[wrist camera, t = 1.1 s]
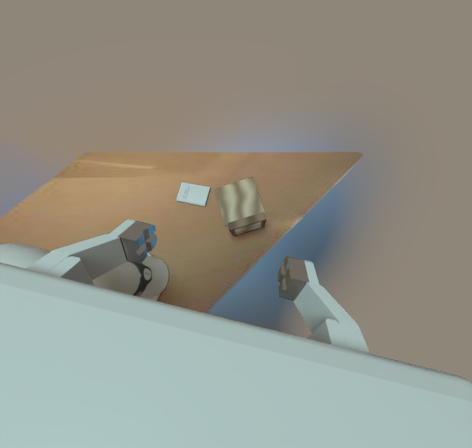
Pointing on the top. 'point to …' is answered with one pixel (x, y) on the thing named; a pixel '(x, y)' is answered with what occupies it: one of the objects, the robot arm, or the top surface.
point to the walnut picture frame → (247, 224)
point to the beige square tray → (239, 200)
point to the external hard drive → (193, 194)
